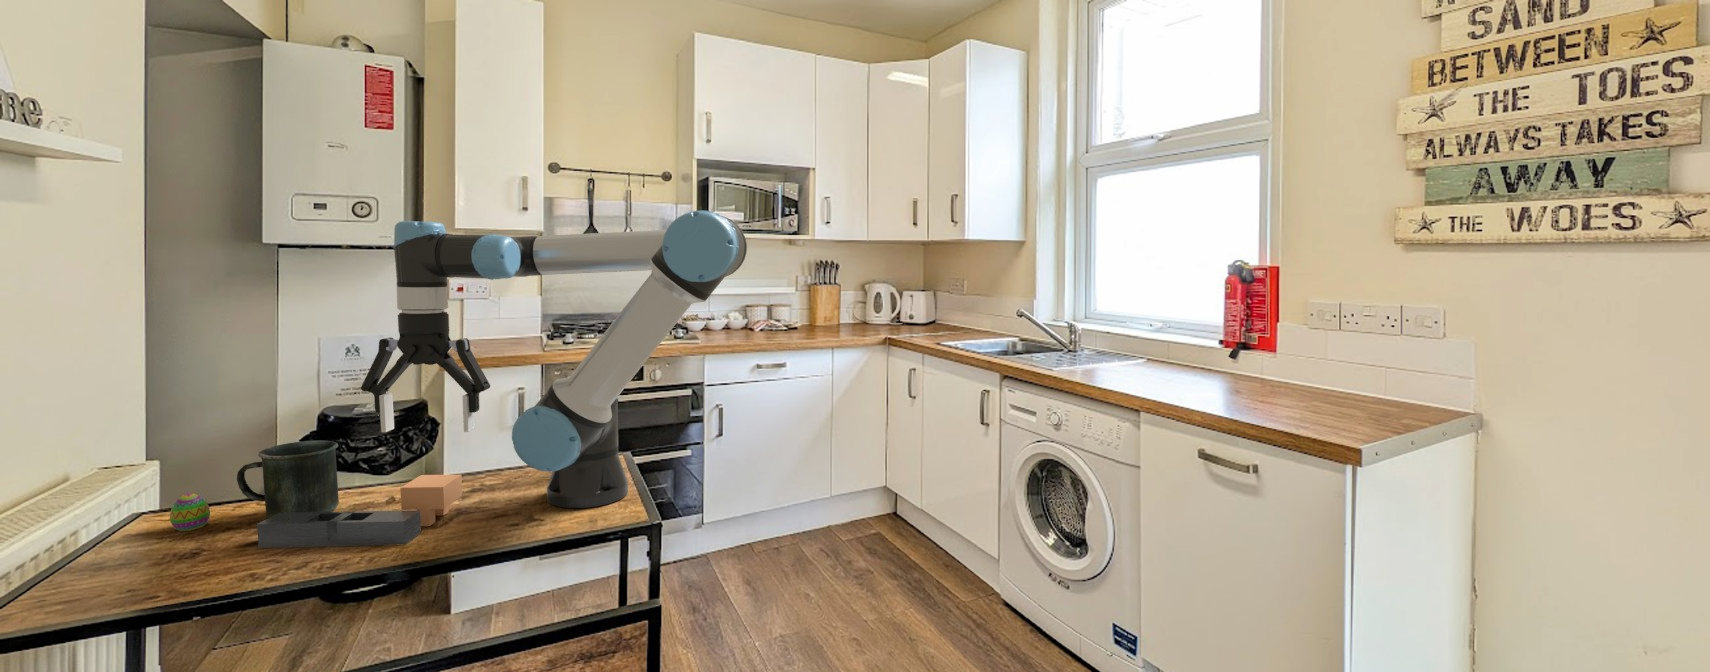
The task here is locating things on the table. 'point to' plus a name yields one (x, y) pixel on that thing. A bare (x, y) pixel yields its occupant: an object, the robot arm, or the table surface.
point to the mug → (296, 477)
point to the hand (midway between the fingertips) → (428, 430)
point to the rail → (339, 529)
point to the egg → (189, 512)
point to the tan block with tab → (431, 495)
